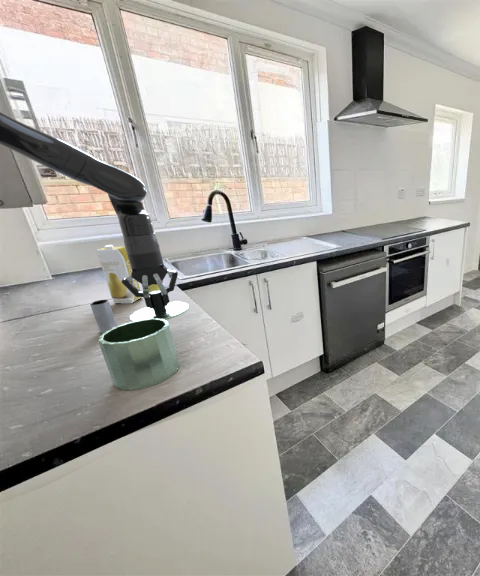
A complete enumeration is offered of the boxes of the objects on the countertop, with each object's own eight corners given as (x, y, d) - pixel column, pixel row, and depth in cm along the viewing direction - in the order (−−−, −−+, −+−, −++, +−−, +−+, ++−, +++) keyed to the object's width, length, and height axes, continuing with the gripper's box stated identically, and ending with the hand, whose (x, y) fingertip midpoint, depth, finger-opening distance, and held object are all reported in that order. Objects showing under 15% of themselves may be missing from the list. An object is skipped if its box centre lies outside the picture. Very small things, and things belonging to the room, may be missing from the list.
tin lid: (129, 330, 83) (121, 305, 81) (131, 312, 95) (124, 290, 92) (192, 316, 92) (186, 293, 89) (187, 301, 103) (182, 281, 101)
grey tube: (99, 334, 101) (88, 305, 97) (101, 329, 104) (91, 301, 101) (116, 331, 103) (107, 302, 100) (118, 326, 107) (109, 298, 103)
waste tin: (112, 398, 71) (94, 350, 67) (117, 370, 81) (102, 327, 77) (181, 376, 78) (169, 332, 74) (177, 354, 89) (167, 314, 84)
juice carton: (110, 304, 126) (90, 246, 118) (124, 297, 133) (107, 243, 125) (133, 304, 126) (115, 246, 118) (146, 297, 133) (131, 242, 126)
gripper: (109, 256, 80) (129, 316, 86) (173, 249, 88) (187, 305, 93) (112, 251, 86) (130, 308, 91) (172, 245, 93) (185, 298, 99)
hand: (159, 306), depth 92 cm, fingers closed on tin lid, 3 cm apart
